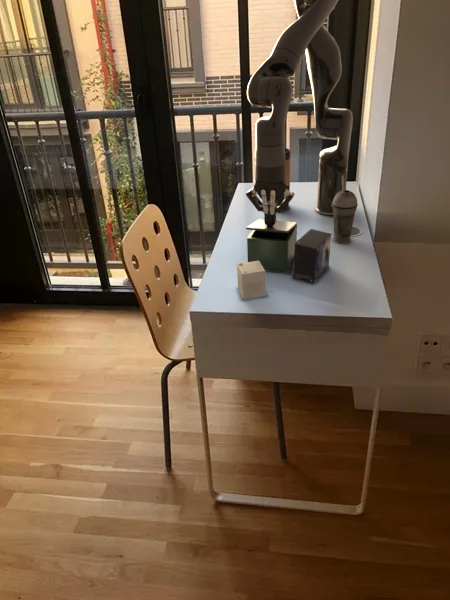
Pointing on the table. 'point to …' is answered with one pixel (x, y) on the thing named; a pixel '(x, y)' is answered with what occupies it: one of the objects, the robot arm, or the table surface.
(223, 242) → the table surface
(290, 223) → the bin lid
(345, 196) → the beverage cup
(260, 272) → the white cardboard box
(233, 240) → the table surface
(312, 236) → the small box
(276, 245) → the bin
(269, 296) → the table surface
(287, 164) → the travel mug
